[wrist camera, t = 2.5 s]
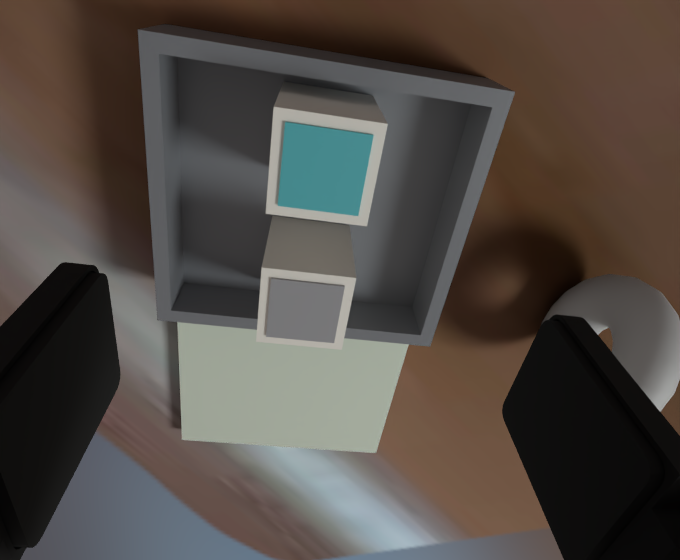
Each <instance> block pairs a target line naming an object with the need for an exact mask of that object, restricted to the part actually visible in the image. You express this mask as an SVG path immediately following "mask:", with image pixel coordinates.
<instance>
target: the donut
mask: <svg viewBox="0 0 680 560" xmlns="http://www.w3.org/2000/svg"><path fill="white" fill-rule="evenodd" d="M557 314H558V315H567V316H577V317H582V318H584V319H585V320H586V321H587V322H588V323H589V325H590V326H591V327H592V328H593V330H594V331H595V332H596V333H597V335H598V334H599V333H600V332H601V331H603V330H605V329H607V328H610V330H611V333H612V338H613V347H612V353H613V354H614V356H615V357H616V358H617V359H618V361H619V362H620V363H621V364H622V365H623V367H624V368H625V369H626V370H627V372H628V373H629V374H630V375H631V377H632V378H633V379H634V380H635V382H636V383H637V384H638V385H639V386H640V388H641V389H642V390H643V391H644V393H645V394H646V395H647V396H648V398H649V399H650V400H651V401H652V402H653V404H654V405H655V406H656V407H657V409H658V410H659V411H661V410H662V409H663V407H664V406H665V405H666V404H667V402H668V401H669V400H670V398H671V397H672V396H673V395H674V393H675V390H676V388H677V385H678V382H679V380H680V320H679V316H678V314H677V313H676V311H675V310H674V308H673V307H672V306H671V304H670V303H669V302H668V300H667V299H666V298H665V297H664V295H663V294H662V293H661V292H660V291H658V290H657V289H655V288H653V287H652V286H650V285H648V284H646V283H645V282H643V281H641V280H640V279H638V278H635V277H629V276H621V275H613V274H607V275H602V276H598V277H594V278H590V279H586V280H584V281H582V282H580V283H579V284H577V285H575V286H574V287H572V288H571V289H569V290H567V291H566V292H565V293H564V294H563V295H562V296H561V297H560V298H559V299H558V300H557V301H556V302H555V303H554V304H553V305H552V307H551V308H550V310H549V312H548V313H547V315H546V317H545V318H544V320H543V321H542V323H543V322H544V321H545V320H549V319H550V318H551V317H552V316H553V315H557ZM541 325H542V324H541Z"/></svg>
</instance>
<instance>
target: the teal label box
mask: <svg viewBox="0 0 680 560" xmlns="http://www.w3.org/2000/svg"><path fill="white" fill-rule="evenodd" d="M387 126H388V123H387V121H386V119H385V118H384V116H383V114H382V112H381V110H380V108H379V106H378V104H377V102H376V100H375V98H374V97H373V96H372V95H365V94H359V93H353V92H346V91H340V90H334V89H328V88H321V87H315V86H309V85H302V84H296V83H290V82H283V84H282V87H281V89H280V92H279V94H278V97H277V99H276V102H275V105H274V109H273V122H272V135H271V149H270V162H269V175H268V189H267V202H266V214H272V215H280V216H288V217H296V218H304V219H311V220H319V221H327V222H335V223H343V224H351V225H359V226H367V224H368V219H369V214H370V209H371V204H372V199H373V194H374V189H375V184H376V180H377V175H378V170H379V165H380V160H381V155H382V150H383V145H384V140H385V135H386V131H387Z"/></svg>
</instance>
